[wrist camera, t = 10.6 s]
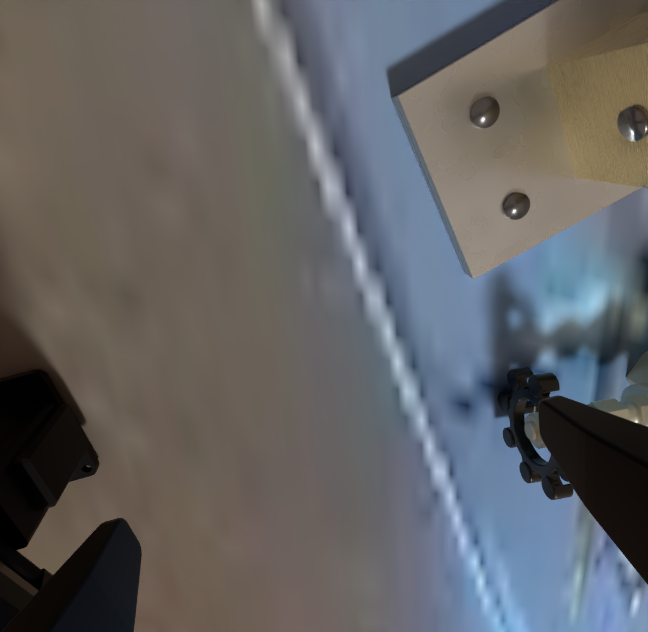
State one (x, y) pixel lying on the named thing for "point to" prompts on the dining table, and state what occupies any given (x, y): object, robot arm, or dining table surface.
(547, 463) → the valve
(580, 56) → the loose leaf
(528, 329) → the dining table surface
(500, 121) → the fixed leaf
